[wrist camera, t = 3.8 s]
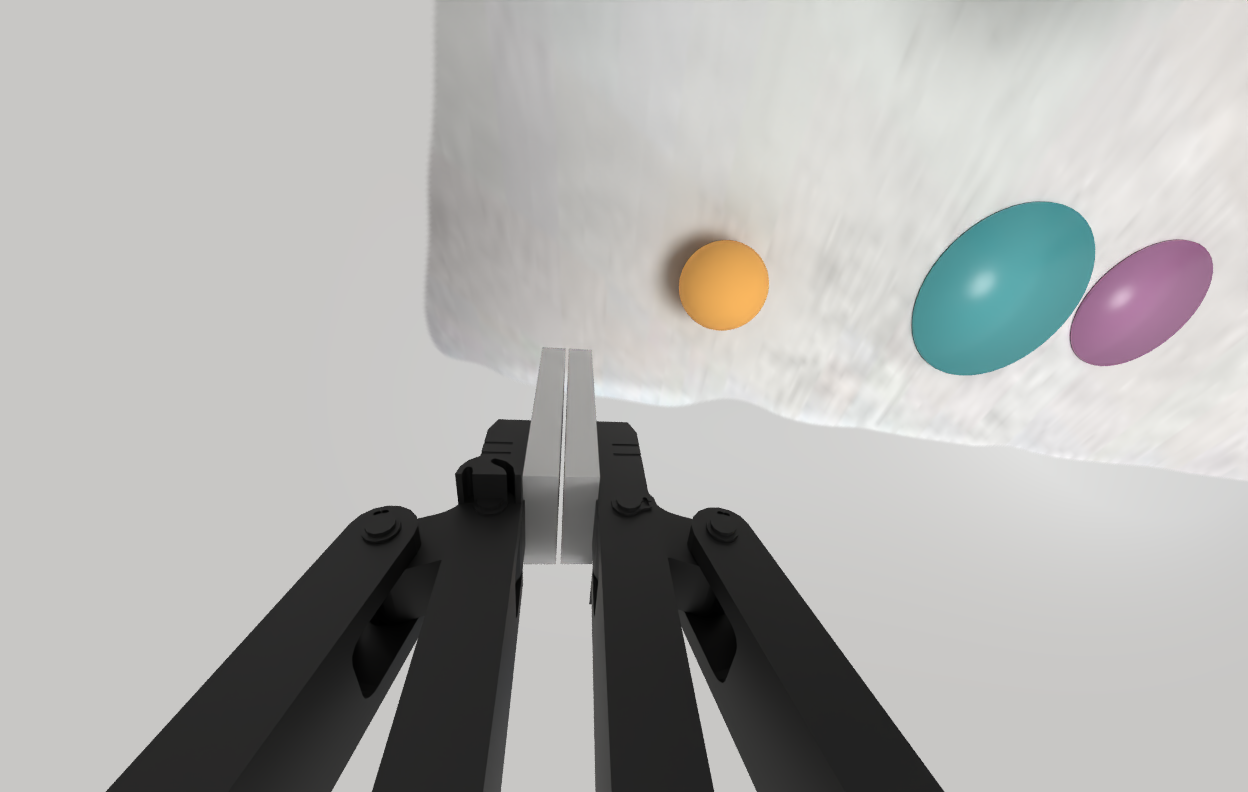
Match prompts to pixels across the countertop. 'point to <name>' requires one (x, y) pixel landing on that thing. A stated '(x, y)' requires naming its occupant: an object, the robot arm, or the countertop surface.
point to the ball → (723, 285)
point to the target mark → (1003, 288)
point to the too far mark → (1141, 302)
